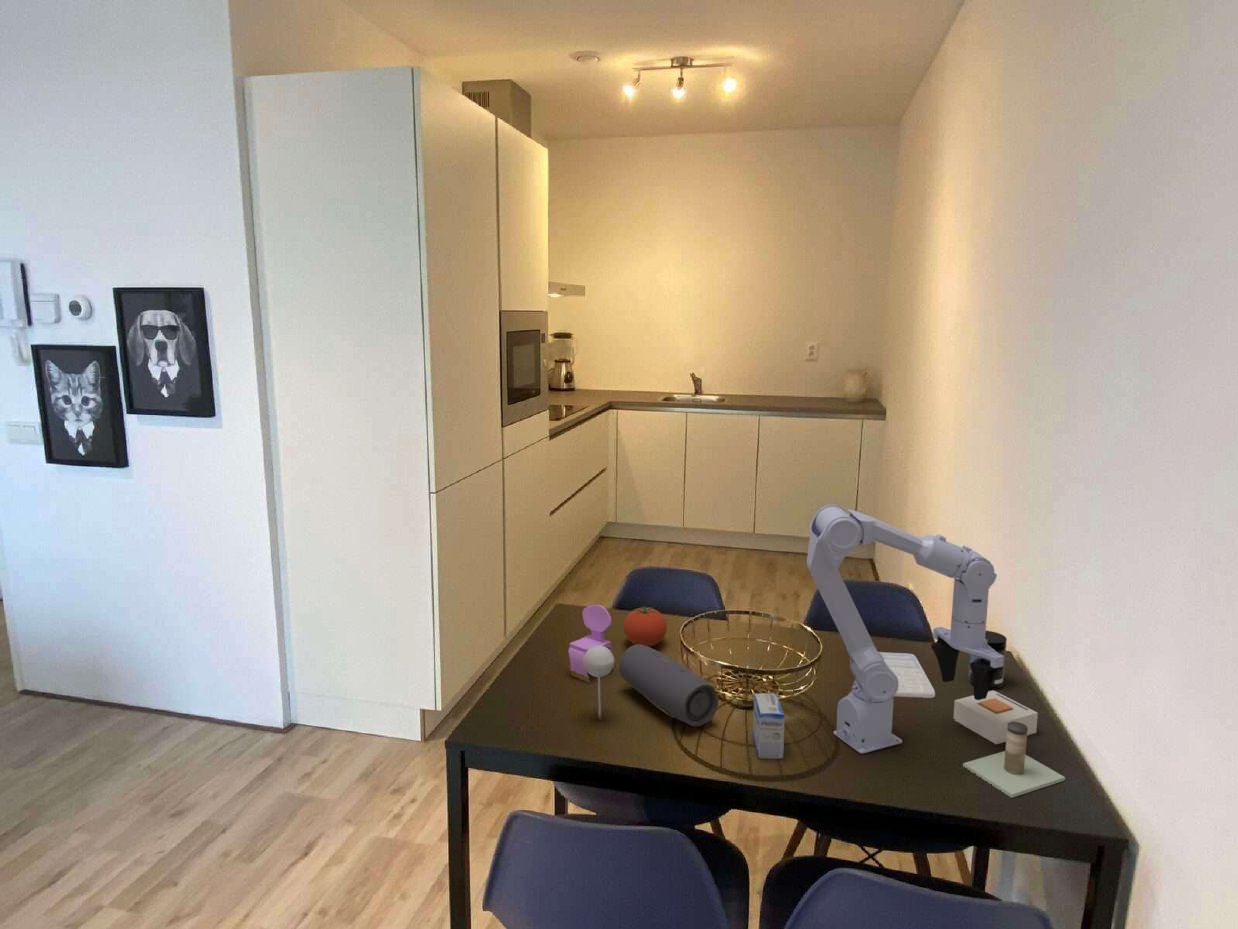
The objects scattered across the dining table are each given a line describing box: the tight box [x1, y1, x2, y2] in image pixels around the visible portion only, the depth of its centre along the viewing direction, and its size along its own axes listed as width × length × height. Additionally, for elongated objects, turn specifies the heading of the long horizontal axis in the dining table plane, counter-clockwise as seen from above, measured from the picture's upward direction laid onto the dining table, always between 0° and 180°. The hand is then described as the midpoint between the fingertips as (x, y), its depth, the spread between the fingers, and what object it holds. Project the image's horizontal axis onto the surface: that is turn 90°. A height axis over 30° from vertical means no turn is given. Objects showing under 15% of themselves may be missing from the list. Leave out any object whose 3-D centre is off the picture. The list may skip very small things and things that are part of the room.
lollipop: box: [583, 646, 615, 716], centre depth 153 cm, size 6×6×15 cm
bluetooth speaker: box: [618, 644, 719, 727], centre depth 157 cm, size 23×9×10 cm, turn 32°
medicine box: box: [752, 693, 785, 760], centre depth 142 cm, size 8×4×9 cm, turn 178°
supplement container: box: [968, 630, 1007, 690], centre depth 166 cm, size 7×7×10 cm
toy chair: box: [568, 604, 615, 679], centre depth 173 cm, size 8×9×15 cm
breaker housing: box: [953, 689, 1039, 745], centre depth 149 cm, size 10×10×4 cm
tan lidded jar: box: [1004, 722, 1028, 775], centre depth 133 cm, size 3×3×8 cm
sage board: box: [962, 750, 1066, 799], centre depth 134 cm, size 12×10×1 cm
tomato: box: [623, 605, 667, 648], centre depth 188 cm, size 10×10×10 cm
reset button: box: [979, 698, 1012, 714], centre depth 149 cm, size 4×4×3 cm
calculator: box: [878, 651, 936, 699], centre depth 171 cm, size 13×20×2 cm, turn 172°
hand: (963, 689), depth 143 cm, fingers open, 7 cm apart
